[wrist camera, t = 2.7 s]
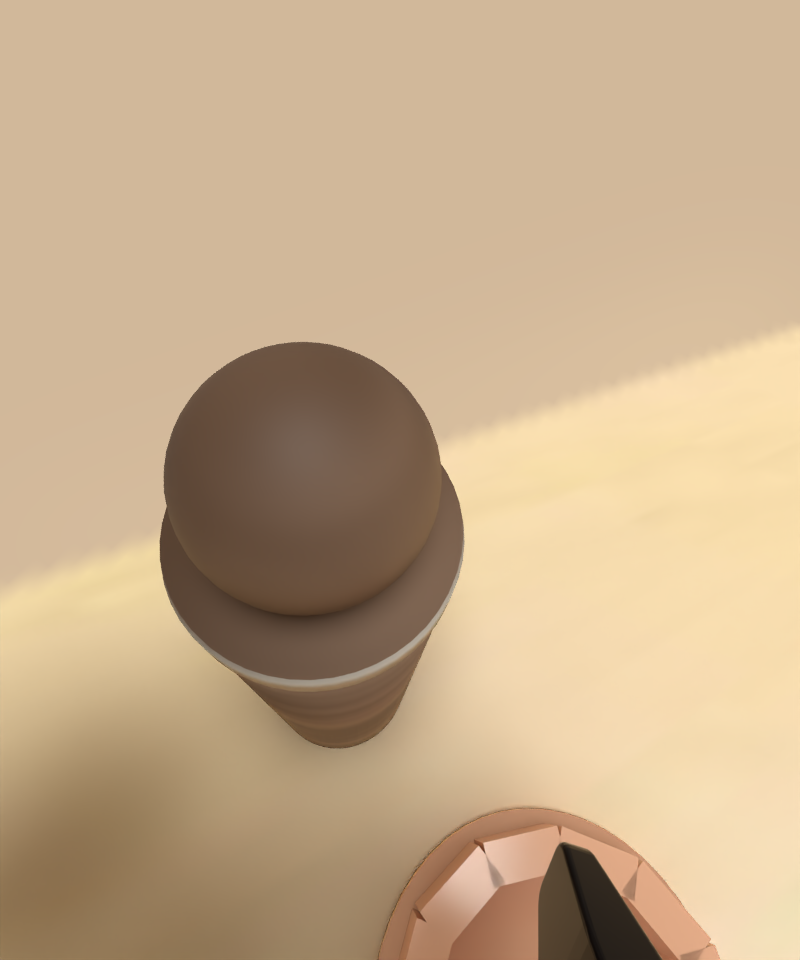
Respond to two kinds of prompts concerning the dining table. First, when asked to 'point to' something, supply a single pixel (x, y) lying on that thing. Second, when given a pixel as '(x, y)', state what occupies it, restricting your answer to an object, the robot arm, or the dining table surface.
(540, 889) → the robot arm
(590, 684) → the dining table surface
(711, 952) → the dish
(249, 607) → the pepper mill
